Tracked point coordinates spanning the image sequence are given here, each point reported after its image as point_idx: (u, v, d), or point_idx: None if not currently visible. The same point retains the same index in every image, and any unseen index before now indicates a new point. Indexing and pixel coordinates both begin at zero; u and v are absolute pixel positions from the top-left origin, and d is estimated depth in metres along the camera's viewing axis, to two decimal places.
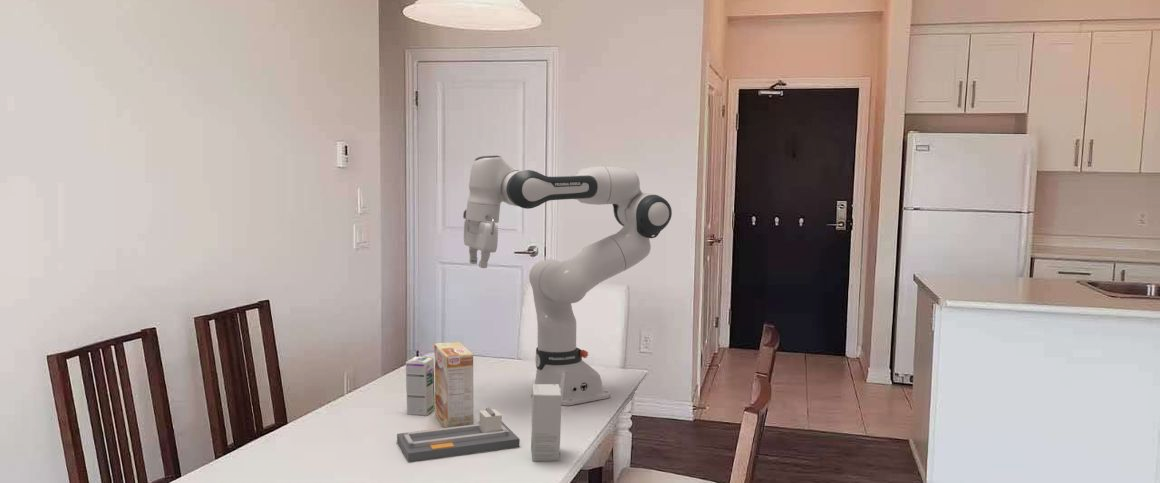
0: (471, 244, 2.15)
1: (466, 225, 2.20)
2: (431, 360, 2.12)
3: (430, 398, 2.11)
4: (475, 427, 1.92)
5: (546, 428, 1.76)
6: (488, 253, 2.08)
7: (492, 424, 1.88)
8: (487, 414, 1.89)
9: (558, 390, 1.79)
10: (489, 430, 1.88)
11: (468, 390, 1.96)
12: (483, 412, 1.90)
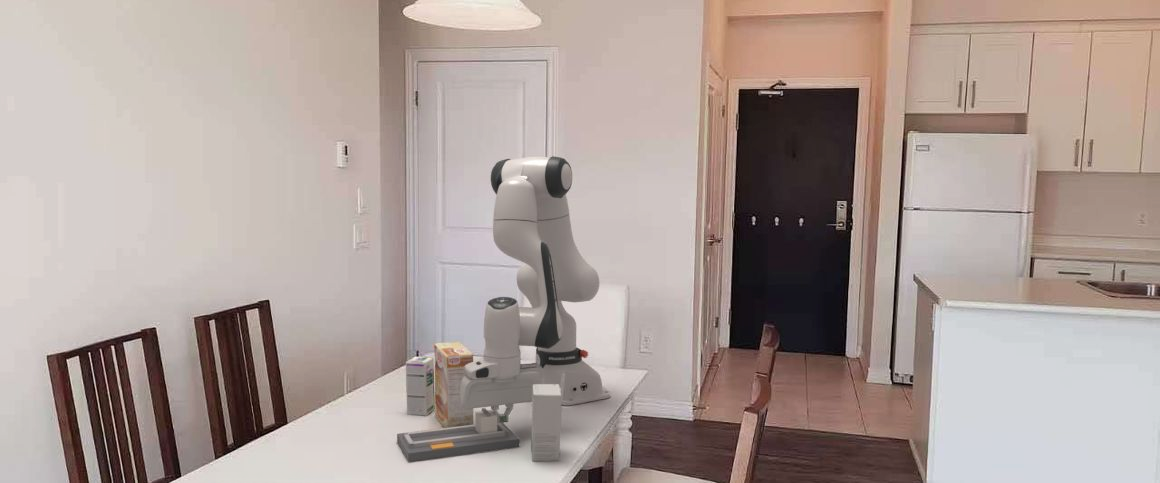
0: (496, 402, 1.88)
1: (473, 385, 1.85)
2: (431, 360, 2.12)
3: (430, 398, 2.11)
4: None
5: (546, 428, 1.76)
6: None
7: (487, 425, 1.87)
8: (483, 415, 1.88)
9: (558, 390, 1.79)
10: (485, 431, 1.87)
11: None
12: (479, 412, 1.90)
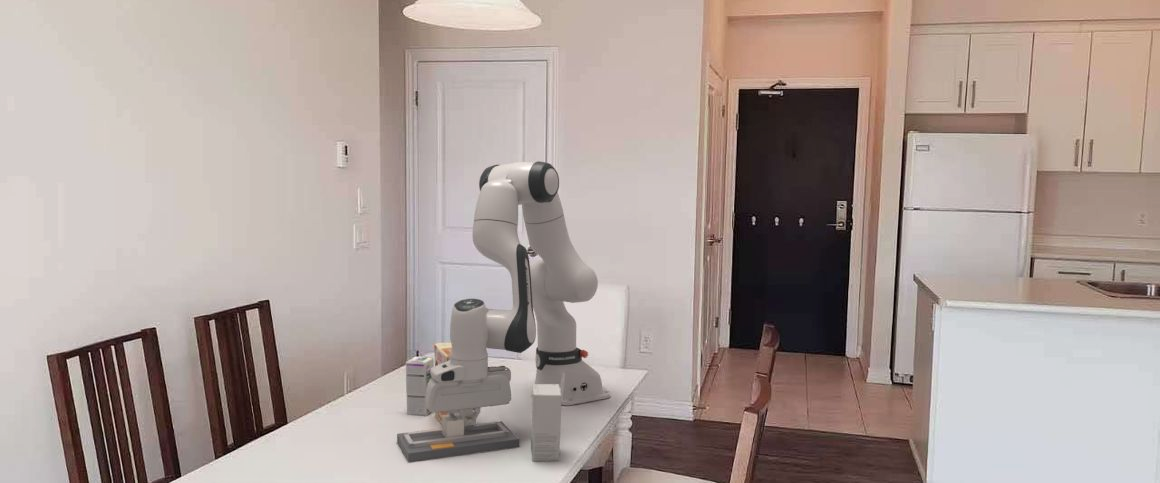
0: (463, 406, 1.85)
1: (439, 389, 1.82)
2: (431, 360, 2.12)
3: None
4: (475, 427, 1.92)
5: (546, 428, 1.76)
6: None
7: (454, 429, 1.84)
8: (449, 418, 1.85)
9: (558, 390, 1.79)
10: (451, 435, 1.84)
11: None
12: (445, 416, 1.87)
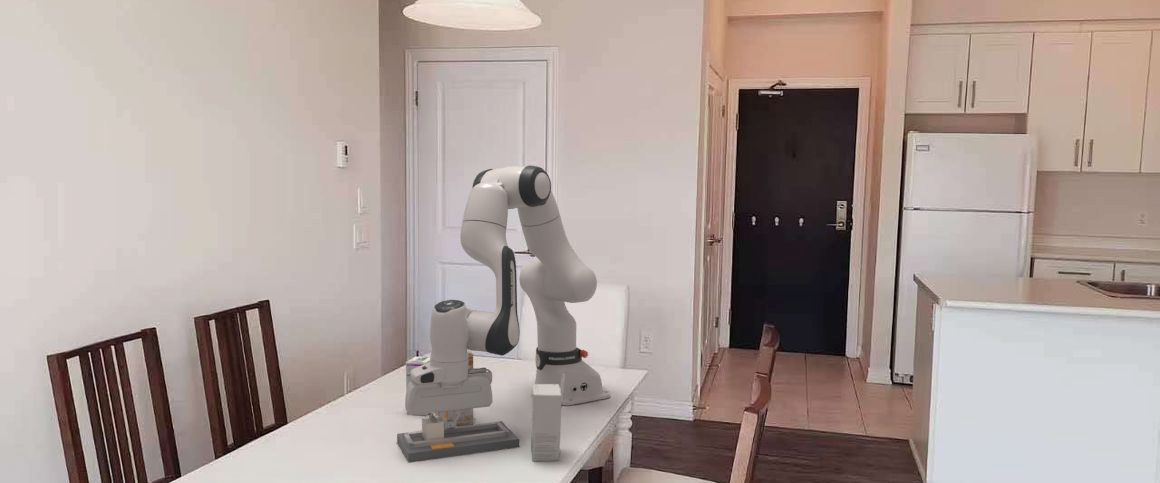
0: (443, 408, 1.83)
1: (418, 391, 1.80)
2: None
3: None
4: (475, 427, 1.92)
5: (546, 428, 1.76)
6: None
7: (433, 431, 1.82)
8: (429, 421, 1.83)
9: (558, 390, 1.79)
10: (431, 437, 1.82)
11: None
12: (425, 419, 1.85)
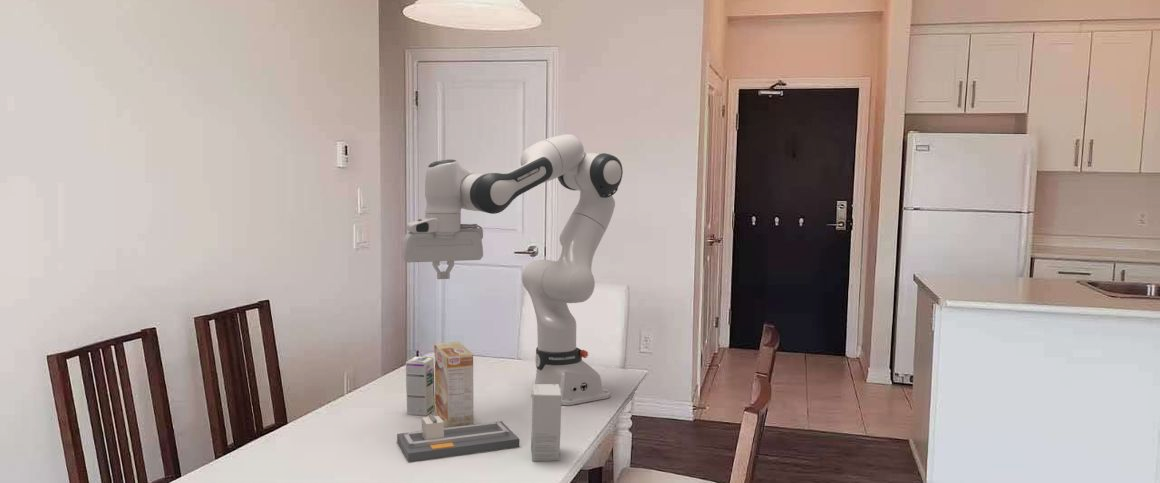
0: (437, 258, 1.98)
1: (414, 240, 1.95)
2: (431, 360, 2.12)
3: (430, 398, 2.11)
4: (475, 427, 1.92)
5: (546, 428, 1.76)
6: None
7: (433, 431, 1.82)
8: (429, 421, 1.83)
9: (558, 390, 1.79)
10: (431, 437, 1.82)
11: (468, 390, 1.96)
12: (425, 419, 1.85)
